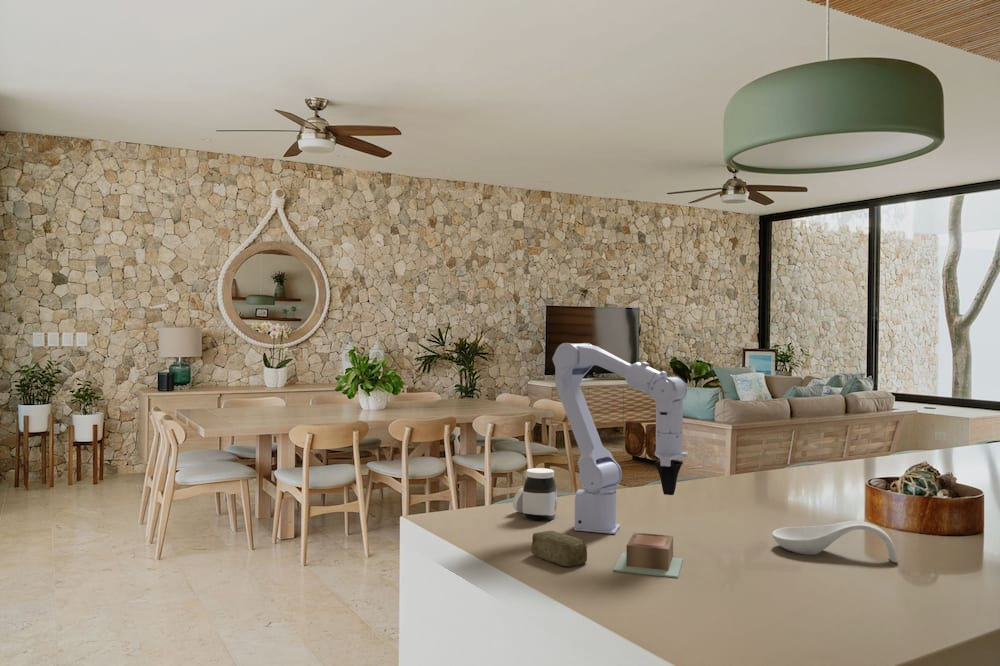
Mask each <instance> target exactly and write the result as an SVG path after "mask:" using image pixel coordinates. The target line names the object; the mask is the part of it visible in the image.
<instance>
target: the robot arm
mask: <svg viewBox="0 0 1000 666" xmlns="http://www.w3.org/2000/svg"><path fill="white" fill-rule="evenodd" d="M551 360H552V363H553V365H554V368H555V370H554V371H555V372H554V374H555V375H554V376H555V377H554V378H555V379H554V382H555V383H554V385H555V388H556V391H557V393H558V396H559V398H560V402H561V404H562V406H563V410H564V412H565V416H566V417H567V420H568V423H569V425H570V428H571V431H572V434H573V436H574V439H575V441H576V444H577V447H578V449H579V452H580V456H579V459H578V461H577V466H578V469H579V476H578V477H579V481H580V484H581V486H582V487H583V489H577V490H576V492H575V497H574V527H573V530H574V531H576V532H577V531H578V532H580V531H581V532H589V533H599V534H600V533H601V534H609V535H610V534H611V535H614V534H616V533H617V531H618V530H619V528H620V527H621V524H620V523H617V489H618V485H619V483H620V482H621V480H622V478H623V477H622V476H623V471H622V468H621V466H620V464H619V463H618V462H617V461H616V460H615V458H614V457H613V454H612V452H611V451H609V450H608V449H607V448H606V447H604V445H603V442H602V440H601V438H600V435H599V432H598V430H597V427H596V425H595V422H594V420H593V416H592V414H591V411H590V409H589V406H588V404H587V401H586V398H585V395H584V393H583V391H582V388H581V383H582V381H583V378H584V377H585V376H586V375H587V373H589V371H590V370H591V369H592V368H593V366H597V367H600V368H602V369H605V370H606V371H609V372H612V373H614V374H617V375H619V376H621V377H623V378H624V379H625V382H626V384H627V385H628V386H630V387H631V388H634V389H636V390H637V391H640V392H642V393H645V394H646V395H648V396H651V398H652V399H653V401H654V402H655V451H654V456H655V457H657V458H658V459H659V460H656V461H654V467H656V470H657V472H658V475H659V478H660V482H661V487H662V488H661V489H662V493H663V495H664V496H665V495H666V496H674V494H675V492H676V487H677V481H678V476H679V474H680V473H679V472H680V470H681V467H682V466H683V463H684V462H683V460H679V459H682V458H687V457H689V452H687V451H685V452H684V451H683V437H684V436H683V431H684V430H683V425H684V424H683V422H684V420H683V417H684V416H683V413H684V412H683V408H684V407H683V403H684V402H683V400H684V399H685V398H686V396H687V393H688V386H687V384H686V382H685V381H684V380H683V379H682V378H680V377H679V376H677V375H672V376H671V375H670V376H668V373H667V371H664V370H661V371H659V370H657V369H655V368H653V367H651V366H650V363H648V362H646V361H641V362H640V361H637V362H634V363H630V362H628V361H626V360H623V358H620V357H618V356H616V355H614V354H612V353H611V352H609V351H607V350H606V349H602V348H601V347H600V346H597V345H593V344H591V343H589V342H583V343H570V342H563V343H561V344H559V345H558V346H557V348H556V349H555V352H554V354H553V356H552V359H551Z"/></svg>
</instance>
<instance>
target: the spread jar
mask: <svg viewBox="0 0 1000 666" xmlns="http://www.w3.org/2000/svg"><path fill="white" fill-rule="evenodd" d="M525 475H526V478H525V481H524V483H523V486H522V487H521V488H520V489H519V490H517V492H516V493H515V495H514V496H513V500H512V508H513V509H514V510H515V511H517V512H518V513H522V514H523V516H524V518H525V519H527V520H530V521H535V522H536V521H537V522H543V521H544V522H547V521H551V520H553V519H554V518H555V517H556V513H557V508H558V507H557V505H558V504H557V503H558V502H557V501H558V499H557V497H558V495H557V494H558V488H557V487H558V486H557V482H556V480H555V478H554V477H555V470H553V469H551V468H545V467H537V468H536V467H534V468H533V467H532V468H528V469H526V471H525Z"/></svg>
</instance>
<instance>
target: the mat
mask: <svg viewBox="0 0 1000 666" xmlns="http://www.w3.org/2000/svg"><path fill="white" fill-rule="evenodd" d="M626 554H627V552H622V554H621V556H620V557H619V559H618V560H617V562H616V564H615V566H614V568H613V572H618V573H628V574H629V573H630V574H639V575H647V576H656V577H663V578H664V577H665V578H667V577H668V578H672V579H673V578H675V579H678V578H679V576H680V571H681V568H682V564H683V562H684V561H683V560H684V558H683V557H675V556H673V558H672V561H671V564H670V567H669V570H661V569H651V568H642V567H632V566H626Z"/></svg>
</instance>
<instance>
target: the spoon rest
mask: <svg viewBox="0 0 1000 666" xmlns="http://www.w3.org/2000/svg"><path fill="white" fill-rule="evenodd" d="M858 530H864V531H867V532H870V533H873V534H874V535H876V536H877V537H878V538H879V539H881V540H882V541H883V542H884V543H885V546H886V548H887V553H888V557H889V558H888V559H889V560H890V562H892V563H897V562H898V556H897V555H898V554H897V550H896V548H895V545H894V543H893V541H892V539H891V537H890V535H889V534H888V533H887V532H886V531H884V529H882V528H880V527H879V526H878V525H875V524H872V523H870V522H867V521H860V520H850V521H842V522H837V523H831V524H825V525H824V524H823V525H812V526H810V525H809V526H808V525H807V526H805V525H804V526H786V527H785V526H784V527H780V528H777V529H775V530H773V531H772V532H771V536H772V538H773V539H774V540H775V542H776V543H777V544H778V545H779V546H780V547H781V548H783V549H784V550H787V551H789V552H791V551H792V552H791V553H795V554H799V555H800V554H801V555H819V554H820V553H821V552H822V551H824V550H826V549H827V548H828V547H830V545H832V544H834V542H835V541H836V540H838V539H839V538H840V537H842V536H843V535H845V534H848V533H849V532H852V531H858Z"/></svg>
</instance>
